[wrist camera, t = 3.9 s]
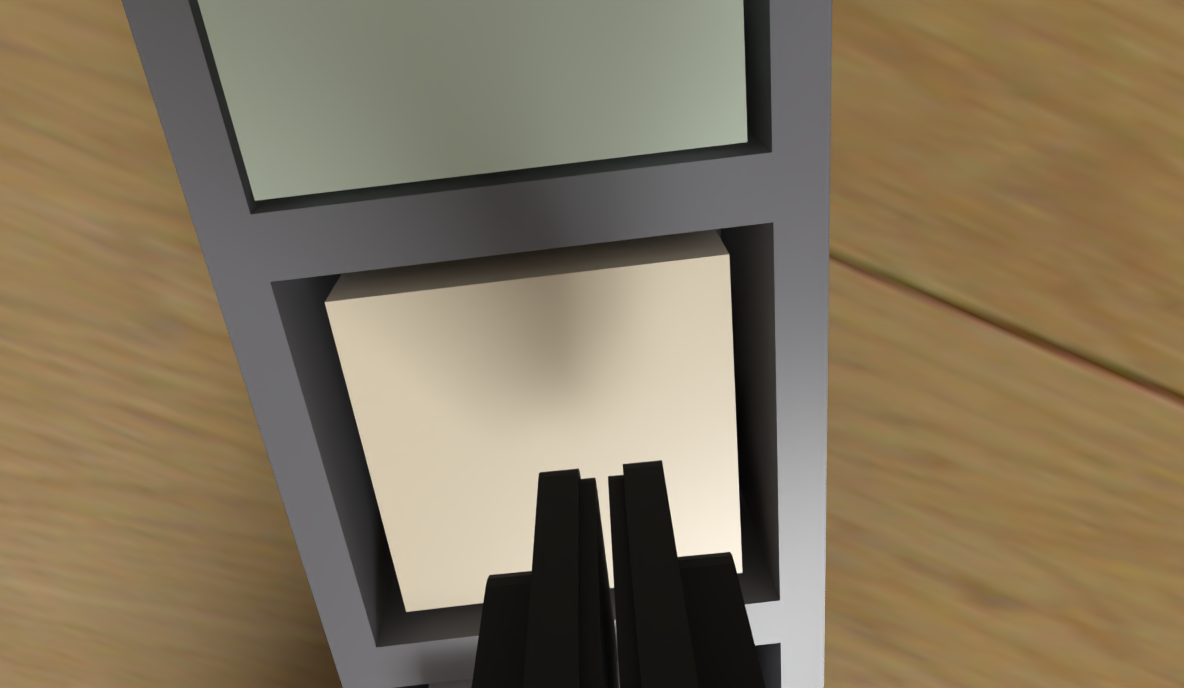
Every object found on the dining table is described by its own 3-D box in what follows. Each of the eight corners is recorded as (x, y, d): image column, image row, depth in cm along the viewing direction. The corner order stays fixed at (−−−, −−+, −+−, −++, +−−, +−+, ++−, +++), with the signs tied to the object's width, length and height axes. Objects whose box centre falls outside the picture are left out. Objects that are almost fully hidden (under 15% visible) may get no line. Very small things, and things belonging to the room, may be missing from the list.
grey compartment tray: (731, -443, 13) (840, -664, 8) (764, 704, 24) (821, 904, 19) (166, -374, 13) (-57, -553, 8) (451, 740, 24) (426, 949, 19)
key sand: (688, 182, 16) (729, 254, 13) (704, 450, 19) (742, 572, 15) (373, 220, 16) (324, 301, 13) (432, 482, 19) (406, 611, 15)
